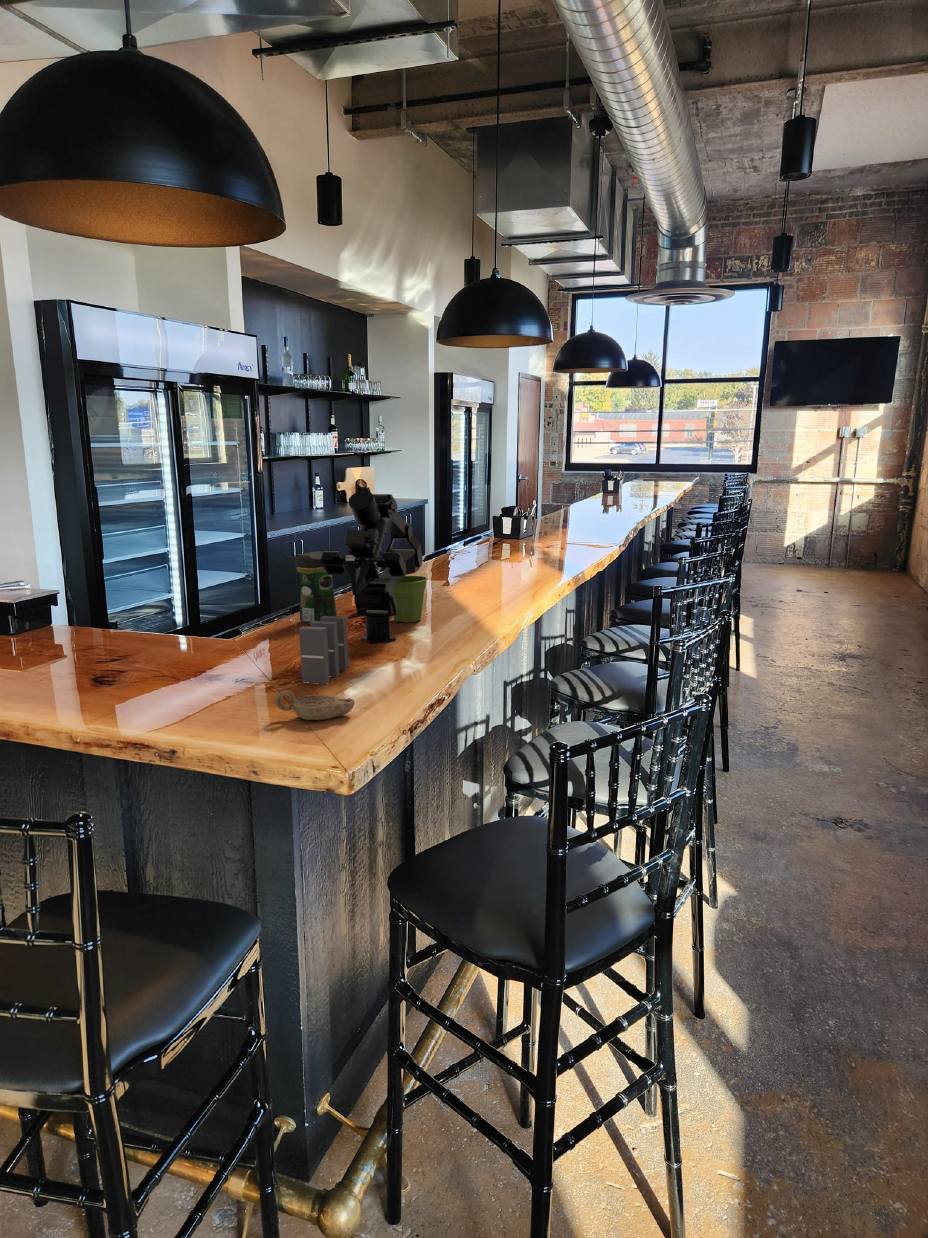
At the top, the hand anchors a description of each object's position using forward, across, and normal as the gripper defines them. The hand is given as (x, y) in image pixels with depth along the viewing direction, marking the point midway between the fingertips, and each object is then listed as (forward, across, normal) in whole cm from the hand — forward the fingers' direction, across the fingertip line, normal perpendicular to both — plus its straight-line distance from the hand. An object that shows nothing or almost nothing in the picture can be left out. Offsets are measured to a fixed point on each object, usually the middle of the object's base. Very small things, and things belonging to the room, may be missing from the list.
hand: (354, 594), depth 172 cm
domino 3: (+18, 0, +1) cm, 18 cm away
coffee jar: (-12, -23, +32) cm, 42 cm away
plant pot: (-16, 0, +36) cm, 39 cm away
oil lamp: (+39, +9, -19) cm, 44 cm away
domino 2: (+22, 0, -2) cm, 22 cm away
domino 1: (+25, 0, -6) cm, 26 cm away
